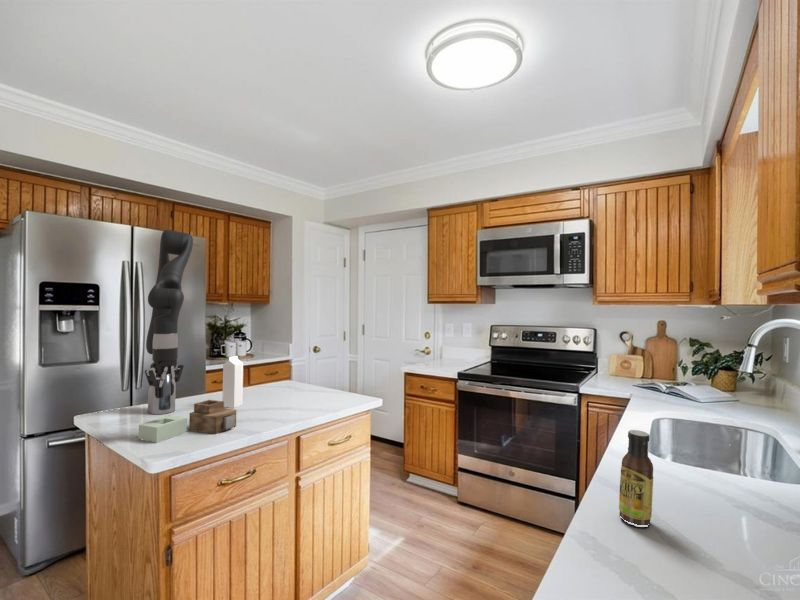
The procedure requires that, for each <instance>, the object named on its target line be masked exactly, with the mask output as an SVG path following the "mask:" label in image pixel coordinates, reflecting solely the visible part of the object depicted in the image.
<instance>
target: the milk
mask: <svg viewBox="0 0 800 600" xmlns="http://www.w3.org/2000/svg"><path fill="white" fill-rule="evenodd" d="M243 390H244V362H243V361H242V360H240V359H239V356H238V355H233V356H229V358H228V360H227V361H225V362H224V363H223V364H222V399H221V401H224V408H226V407H228V408H227V409H236V408H238V407H241V406H243V401H244V400H243V399H244V396H243V393H244V391H243ZM240 405H241V406H240ZM235 407H236V408H235Z"/></svg>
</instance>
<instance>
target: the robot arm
mask: <svg viewBox="0 0 800 600" xmlns="http://www.w3.org/2000/svg"><path fill="white" fill-rule="evenodd" d="M193 243H194V239H193V236H192V235H191V234H190V233H187V232H181V231H176V230H173V229H172V230H171V229H164V230H163V231H162V234H161V236H160V243H159V244H160V245H159V254H158V256H159V257H158V269H157V275H156V279H155V284H154V285H153V287H152V288H151V289H150V291H149V292H148V294H147V295H148V296H147V303H148V304H149V306H150V307H151V308H152V311H151V318H150V323H149V326H148V331H147V335H146V341H145V342H146V343H145V348H146V352H147V353H148V354H150V355H152V357H151V358H152V359H151V360H152V361H153V362H151V364H150V367H149V369H145V370H144V374H145V377H146V380H147V382H148V385H149V388H148V389H147V412H148V413H149V414H151V415H162V414H163V415H165V414H170V413H172V412H175V411H176V385H177V384H176V383H179V382H180V380H181V377H182V374H183V369H184V367H185V366H184V365H183V364H178V363H177V362H178V357H179V354H178V353H179V336H178V323H179V322H178V320H179V315H180V312H181V309H182V306H183V303H184V301H185V300H184V299H185V295H184V293H183V291H182V280H183V274H184V271H185V269H186V266H187V264H188V262H189V260H190V257H191V254H192V250H193V245H194V244H193ZM169 255H174V256H176V257H174V258H173V259H171V260H170V257H169ZM170 373H171V408H170V409H167V410H159V409H158V407H159V398H162V397H163V387H162V385H163V381H164V380H165V376H166V374H170ZM159 376H160V377H161V378H159Z"/></svg>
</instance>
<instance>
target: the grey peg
mask: <svg viewBox="0 0 800 600" xmlns="http://www.w3.org/2000/svg"><path fill="white" fill-rule="evenodd" d="M159 378H161V377H160V376H159ZM162 387H163V397H162V398H159V407H158V409H159V410H167V409H170V408H171V373H170V374H166V376H165V380H164V381H163V385H162Z"/></svg>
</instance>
